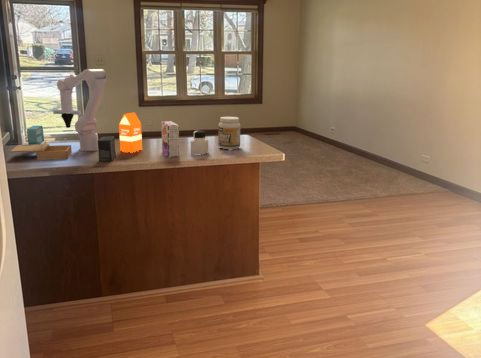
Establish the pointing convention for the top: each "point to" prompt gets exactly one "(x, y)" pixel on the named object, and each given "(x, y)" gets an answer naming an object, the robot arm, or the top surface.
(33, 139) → the data package
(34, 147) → the mailer lid
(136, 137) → the orange juice
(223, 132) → the supplement tub
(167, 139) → the candy box
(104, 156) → the small box
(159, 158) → the top surface
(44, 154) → the mailer box
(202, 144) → the medicine bottle
